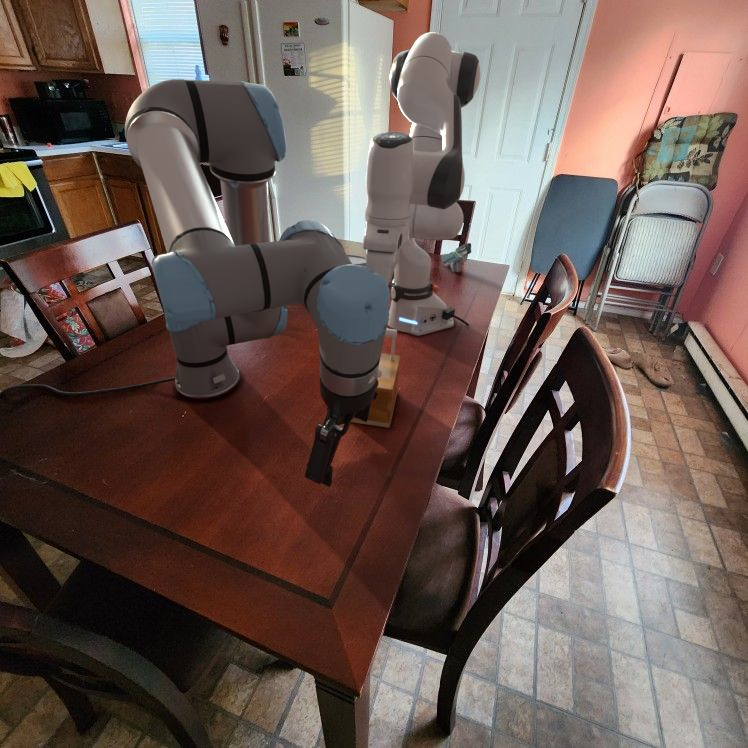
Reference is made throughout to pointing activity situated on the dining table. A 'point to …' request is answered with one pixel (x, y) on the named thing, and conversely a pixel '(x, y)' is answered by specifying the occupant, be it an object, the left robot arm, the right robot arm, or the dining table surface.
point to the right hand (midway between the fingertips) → (383, 294)
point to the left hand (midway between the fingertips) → (343, 448)
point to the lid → (388, 365)
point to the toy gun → (457, 257)
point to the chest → (381, 407)
